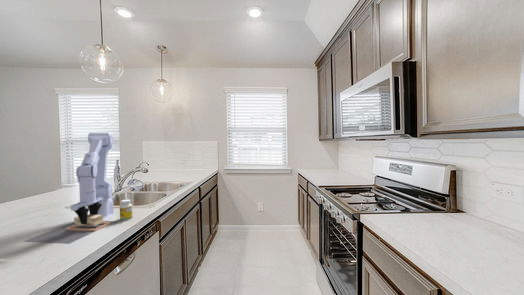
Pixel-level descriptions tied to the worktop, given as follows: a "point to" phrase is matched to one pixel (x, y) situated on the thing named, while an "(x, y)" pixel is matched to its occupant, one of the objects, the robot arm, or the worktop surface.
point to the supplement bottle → (126, 210)
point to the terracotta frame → (87, 228)
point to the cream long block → (89, 220)
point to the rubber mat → (64, 234)
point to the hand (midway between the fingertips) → (88, 221)
